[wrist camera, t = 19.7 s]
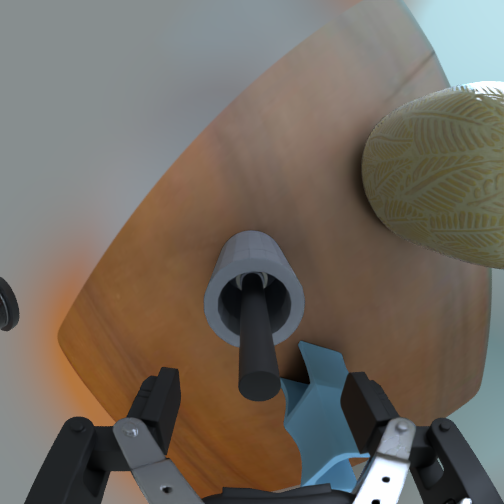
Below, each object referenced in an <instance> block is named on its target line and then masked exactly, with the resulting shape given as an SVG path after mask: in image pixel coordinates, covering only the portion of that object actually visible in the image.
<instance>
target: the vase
mask: <svg viewBox="0 0 504 504" xmlns="http://www.w3.org/2000/svg"><path fill="white" fill-rule="evenodd" d="M361 173H362V182H363V187H364V190H365V194H366V197H367V199H368V201H369V204H370V206H371V208H372V209H373V211H374V212H375V214H376V216H377V217H378V218H379V219H380V221H381V222H382V223H383V224H384V225H385V226H386V227H387V228H388V229H389V230H390V231H392V232H393V233H394V234H396V235H397V236H399V237H401V238H402V239H404V240H406V241H408V242H410V243H413V244H415V245H418V246H420V247H422V248H425V249H427V250H430V251H433V252H435V253H438V254H441V255H444V256H447V257H450V258H453V259H457V260H460V261H463V262H467V263H471V264H475V265H480V266H484V267H491V268H497V269H503V270H504V82H478V83H470V84H463V85H458V86H454V87H450V88H446V89H443V90H440V91H437V92H434V93H431V94H428V95H425V96H423V97H420V98H417V99H415V100H413V101H410V102H408V103H406V104H404V105H402V106H400V107H398V108H397V109H395V110H393V111H392V112H390V113H389V114H387V115H386V116H384V117H383V118H382V119H381V120H380V121H379V122H378V123H377V124H376V125H375V127H374V128H373V130H372V131H371V133H370V135H369V136H368V139H367V141H366V144H365V146H364V151H363V155H362V163H361Z"/></svg>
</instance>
